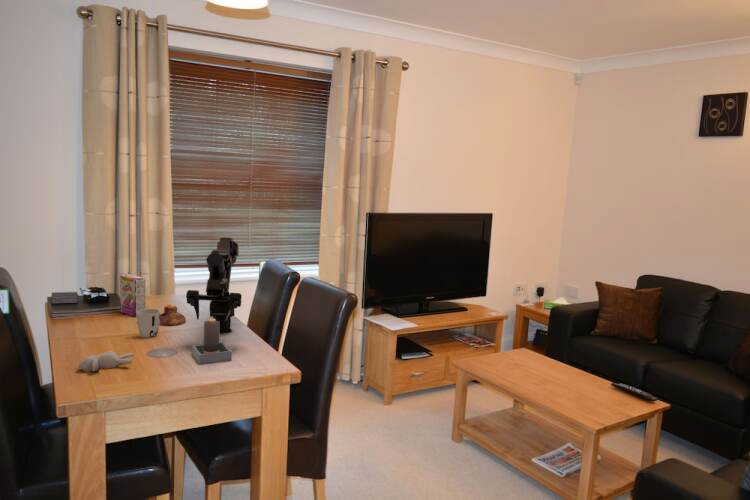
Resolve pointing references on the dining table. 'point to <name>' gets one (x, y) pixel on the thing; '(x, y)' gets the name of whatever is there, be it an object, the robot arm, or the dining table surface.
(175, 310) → the brown rounded piece
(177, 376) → the dining table surface
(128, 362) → the bunny figurine
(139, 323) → the cup
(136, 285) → the candy bar box
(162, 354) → the pad
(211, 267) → the robot arm
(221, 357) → the dish
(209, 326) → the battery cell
